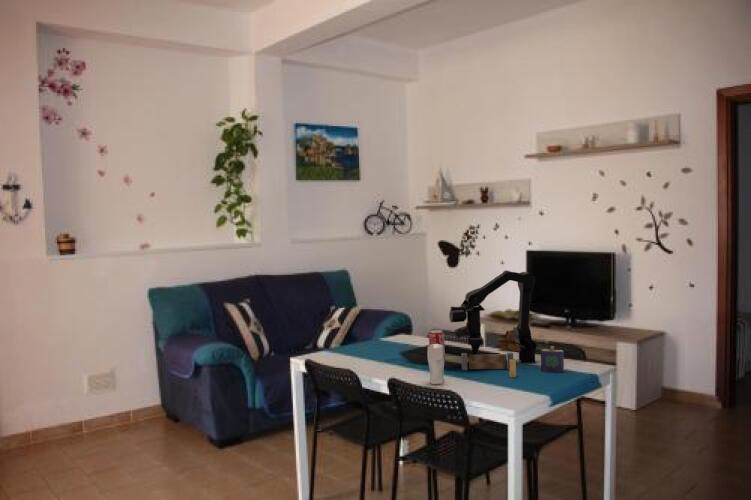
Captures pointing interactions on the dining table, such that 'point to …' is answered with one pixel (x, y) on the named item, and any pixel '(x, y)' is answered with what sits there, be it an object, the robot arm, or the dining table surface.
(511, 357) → the frame
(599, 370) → the dining table surface
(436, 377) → the beer glass
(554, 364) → the flask
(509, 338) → the wooden carving
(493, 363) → the brown wooden plank
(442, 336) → the soda can
